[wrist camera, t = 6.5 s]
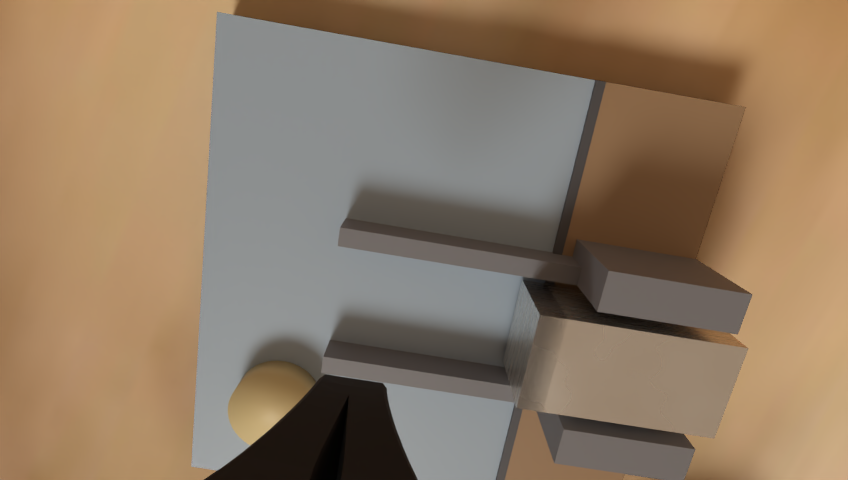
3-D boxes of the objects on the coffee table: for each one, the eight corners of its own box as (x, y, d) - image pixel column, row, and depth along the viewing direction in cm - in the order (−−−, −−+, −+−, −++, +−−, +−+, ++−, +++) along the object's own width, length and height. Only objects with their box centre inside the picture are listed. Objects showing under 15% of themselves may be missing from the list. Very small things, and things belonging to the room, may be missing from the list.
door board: (204, 445, 21) (147, 536, 16) (231, 17, 16) (163, -9, 12) (596, 503, 21) (637, 605, 17) (722, 106, 17) (820, 110, 13)
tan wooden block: (503, 360, 18) (516, 407, 15) (522, 279, 17) (539, 314, 14) (671, 387, 18) (713, 438, 15) (698, 308, 17) (748, 348, 15)
